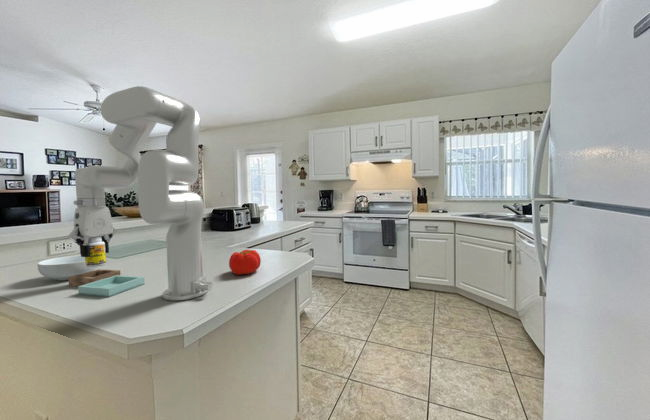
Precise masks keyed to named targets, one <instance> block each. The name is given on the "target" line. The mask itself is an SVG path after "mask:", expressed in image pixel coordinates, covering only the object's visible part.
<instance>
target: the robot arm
mask: <svg viewBox="0 0 650 420" xmlns="http://www.w3.org/2000/svg"><path fill="white" fill-rule="evenodd" d="M100 115H101V117H102V118H103V119H104V120H105V121H106V122H108V123H110V124H113V125H116V126H115V127H114V129H113V130H112V132H111V134H110V135H109V137H108V141H109V144H110V145H111V147H113V149H115V150H116V151H118V152H119V153H121V154H122V155H125V156H126V157H127V160H126V162H125V163H124V165H123V166H122V167H119V166H118V167H117V166H106V165H105V166H104V165H90V166H89V165H88V166H87V167H80V168H77V169H75V171H74V177H75V178H74V181H75V193H76V200H74V201H73V205H76V207H77V208H75V211H74V215H73V230H72V231H71V232H70V233H69V234H68V236H67V238H68V239H69V240H71V241H73V242H74V243H75V244H76V245H77V246H79V253H80V255H81V257H90V246H89V245H87V244H88V241H89V237H96V236H101V237H102V242H105V253H106V254H109V253H110V251H109V250H110V246H109V245H110V243H109V242H111V239H112V238H113V236H114V235H115V234H116V233H117V230H116V229H115V227H114V225H113V219H112V215H111V211H110V209H109V207H108V206H106V195H105V192H106V191H105V189H122V190H123V189H128V188H130V187H132V186H133V184H135V183H136V181H137V199H138V200H137V201H138V211H139V214H140V217H141V218H142V219H143V221H144V222H146V223H147V224H149V225H153V226H154V225H169V224H170V226H169V227H168V230H167V232H166V238H165V242H166V244H165V245H166V265H167V266H166V269H167V285H168V288H167V289H165V290H164V291H163V292H162V298H163V299H164V300H167V301H174V302H175V301H185V300H190V299H195V298H198V297H201V296H203V295H205V294H207V293H208V291H211V290H212V289H213V285H214V282H213V281H207V276H204V275H203V274H204V273H203V271H204V270H203V266H204V265H203V247H202V241H203V240H202V239H203V238H202V226H203V225H202V224H203V223H202V222H203V216H204V212H205V211H204V209H205V204H204V203H205V202H204V201H203V199H202V197H201V196H200V195H199V194H198V193H196V192H194V191H191V190H186V189H185V190H183V189H170V186H176V187H177V186H182V187H183V186H184V187H186V186H190V185H191V186H192V185H194V184H195V183H196V182H197V180H198V178H199V136H200V130H201V119H200V118H201V117H200V115H199V113H198V111H197V110H196V108H195V107H193V106H192V105H191V104H189V103H186V102H184V101H182V100H180V99H177V98H175V97H173V96H171V95H168V94H164V93H162V92H161V91H158V90H154V89H152V88H150V87H146V86H132V87H129V88H125V89H123V90H118V91H115V92H112V93H111V94H109V95H107V96H106V97H105V98H104V100H103V101H102V102H101V105H100ZM157 124H161V125H165V126H168V127H171V128H170V129H169V130H168V133H167V135H166V141H165V142H166V143H165V144H166V146H165V150H164V149H150V150H147V151H146V152H144V153H143V154H142V155H141V154H140V150H141V149H142V147H143V146H144V144H145V142H146V141H147V139H148V137H150V134H151V133H152V131H154V128H155V127H156V125H157Z"/></svg>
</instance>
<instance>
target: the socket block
mask: <svg viewBox="0 0 650 420" xmlns="http://www.w3.org/2000/svg"><path fill="white" fill-rule="evenodd" d="M116 275H119V276H121V269H120V270H119V269H101V268H100V269H99V268H98V269H94V270H93V271H90V272H86V273H82V274H78V275H74V276H70V277H68V279H69V280H68V286H69V287H78V286H81V285H85V284H88V283H92V282H95V281H98V280H102V279H105V278H109V277H112V276H116Z"/></svg>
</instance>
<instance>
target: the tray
mask: <svg viewBox="0 0 650 420" xmlns="http://www.w3.org/2000/svg"><path fill="white" fill-rule="evenodd" d="M143 285H145V276H133V275H120V276H119V275H116V276H112V277H109V278H105V279H102V280H98V281H95V282H92V283H88V284H85V285H81V286H77V292H78V293H77V294H78V295H82V296H91V297H93V296H94V297H102V298H103V297H105V298H111V297H114V296H117V295H119V294H121V293H124V292H127V291H129V290H133V289H136V288H138V287H141V286H143Z"/></svg>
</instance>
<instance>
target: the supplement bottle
mask: <svg viewBox="0 0 650 420" xmlns="http://www.w3.org/2000/svg"><path fill="white" fill-rule="evenodd" d="M87 245H89V246H90V257H85V264H86V267H96V268H98V267H101V266H104V265H107V257H106V254H107V253H105V242H102V237H101V236H92V237H89V241H88V244H87Z"/></svg>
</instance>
